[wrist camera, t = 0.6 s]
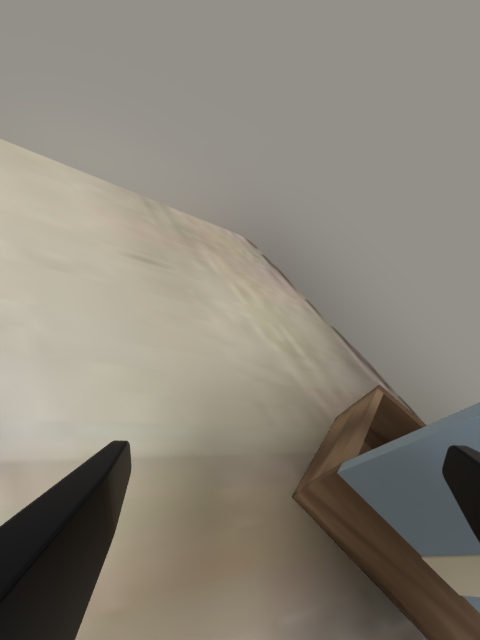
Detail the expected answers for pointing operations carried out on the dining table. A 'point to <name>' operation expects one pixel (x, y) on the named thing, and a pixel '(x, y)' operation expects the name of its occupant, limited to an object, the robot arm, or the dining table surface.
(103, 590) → the dining table surface
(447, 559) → the box lid
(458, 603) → the walnut box
